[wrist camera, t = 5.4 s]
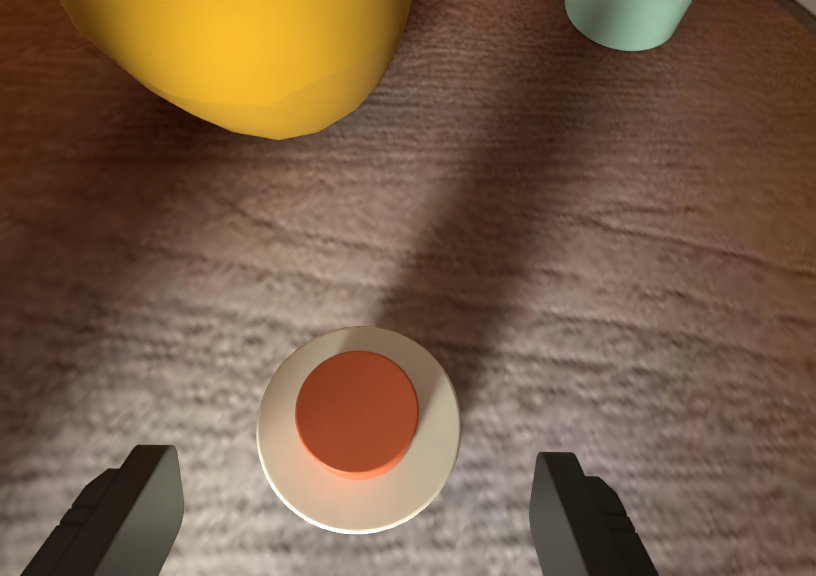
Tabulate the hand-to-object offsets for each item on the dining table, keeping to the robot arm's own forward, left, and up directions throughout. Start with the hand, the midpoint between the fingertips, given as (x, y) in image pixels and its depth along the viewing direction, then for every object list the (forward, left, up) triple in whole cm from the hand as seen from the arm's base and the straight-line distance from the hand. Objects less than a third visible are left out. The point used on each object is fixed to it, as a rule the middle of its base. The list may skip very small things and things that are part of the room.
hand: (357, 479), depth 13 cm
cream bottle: (+1, -1, -8) cm, 8 cm away
